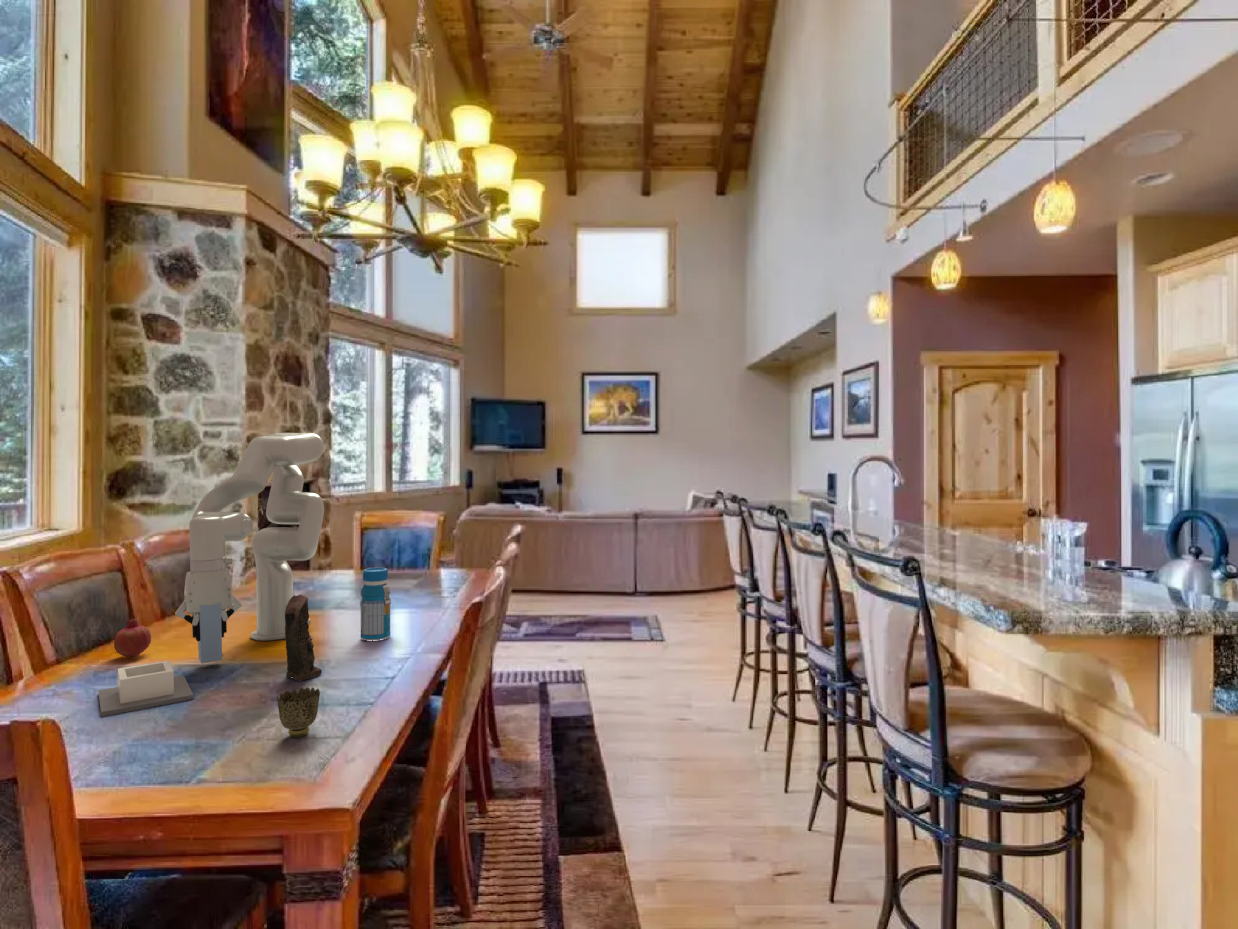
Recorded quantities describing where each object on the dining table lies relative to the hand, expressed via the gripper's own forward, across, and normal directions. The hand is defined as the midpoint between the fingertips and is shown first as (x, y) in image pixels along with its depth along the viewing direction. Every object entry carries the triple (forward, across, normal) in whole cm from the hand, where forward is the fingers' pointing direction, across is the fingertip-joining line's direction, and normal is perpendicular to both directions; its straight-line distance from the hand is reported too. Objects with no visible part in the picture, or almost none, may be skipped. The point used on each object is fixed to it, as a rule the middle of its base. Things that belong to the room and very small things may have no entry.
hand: (209, 637), depth 171 cm
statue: (+7, -15, +23) cm, 28 cm away
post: (+6, 0, 0) cm, 6 cm away
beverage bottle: (+8, -41, 0) cm, 42 cm away
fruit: (+8, +15, -21) cm, 27 cm away
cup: (+7, -6, +58) cm, 58 cm away
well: (+7, +14, +16) cm, 22 cm away
